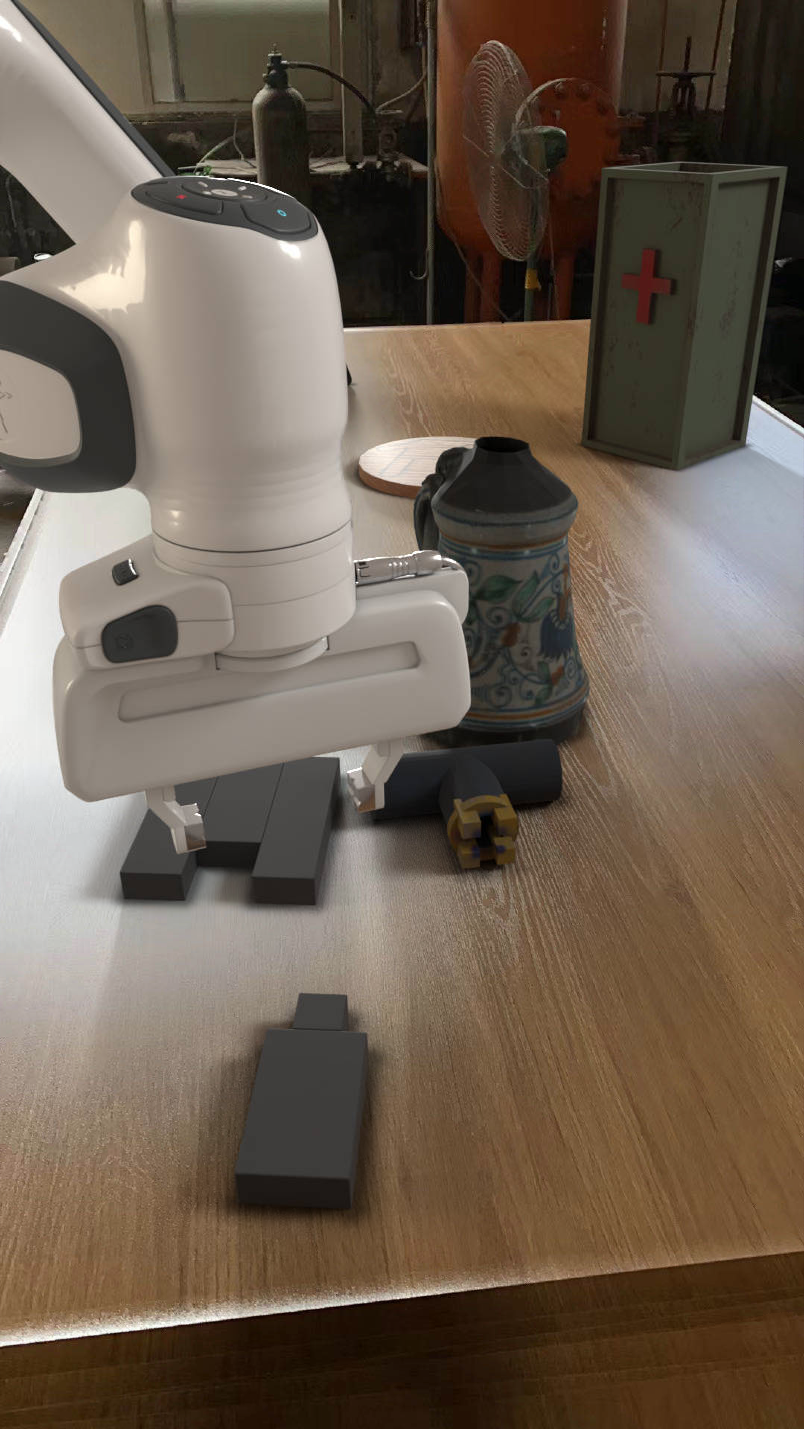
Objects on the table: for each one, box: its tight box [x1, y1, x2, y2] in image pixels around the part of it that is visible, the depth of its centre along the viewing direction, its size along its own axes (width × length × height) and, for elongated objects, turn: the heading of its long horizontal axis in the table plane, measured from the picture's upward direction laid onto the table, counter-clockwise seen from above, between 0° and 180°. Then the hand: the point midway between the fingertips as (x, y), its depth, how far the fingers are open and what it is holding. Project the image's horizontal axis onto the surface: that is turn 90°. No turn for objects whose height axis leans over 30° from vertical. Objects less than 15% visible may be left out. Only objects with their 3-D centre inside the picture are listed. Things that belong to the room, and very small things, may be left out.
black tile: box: [233, 992, 369, 1210], centre depth 62 cm, size 6×13×2 cm, turn 176°
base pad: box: [119, 756, 342, 906], centre depth 84 cm, size 14×16×2 cm
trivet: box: [358, 436, 478, 499], centre depth 163 cm, size 25×25×2 cm
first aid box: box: [581, 161, 788, 471], centre depth 164 cm, size 18×18×40 cm
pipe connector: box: [370, 739, 564, 870], centre depth 84 cm, size 12×5×15 cm
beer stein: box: [412, 435, 591, 749], centre depth 96 cm, size 16×19×25 cm
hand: (280, 824), depth 56 cm, fingers open, 8 cm apart
